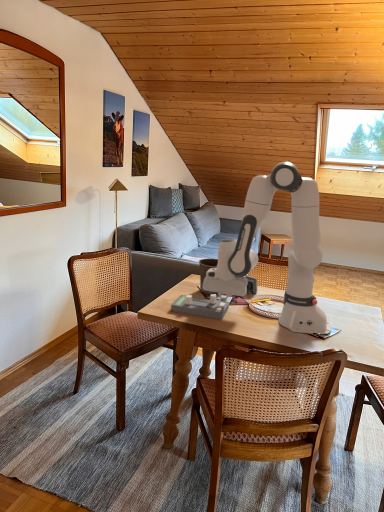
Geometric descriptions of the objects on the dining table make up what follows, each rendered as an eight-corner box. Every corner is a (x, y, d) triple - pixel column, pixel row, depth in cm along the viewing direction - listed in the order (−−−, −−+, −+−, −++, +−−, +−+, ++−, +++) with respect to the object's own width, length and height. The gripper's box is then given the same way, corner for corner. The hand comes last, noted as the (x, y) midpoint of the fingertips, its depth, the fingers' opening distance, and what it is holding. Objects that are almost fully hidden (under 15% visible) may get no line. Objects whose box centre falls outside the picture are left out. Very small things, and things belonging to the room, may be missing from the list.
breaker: (191, 302, 182) (192, 295, 181) (190, 304, 180) (190, 297, 179) (186, 302, 183) (187, 294, 182) (185, 303, 180) (185, 296, 179)
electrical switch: (257, 292, 212) (258, 276, 208) (253, 296, 207) (254, 279, 204) (241, 288, 216) (242, 273, 213) (237, 292, 212) (238, 276, 209)
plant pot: (224, 287, 217) (227, 258, 213) (229, 297, 202) (232, 267, 198) (195, 285, 216) (197, 257, 212) (197, 296, 201) (199, 266, 196)
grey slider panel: (228, 308, 187) (228, 302, 186) (221, 319, 174) (222, 313, 173) (180, 300, 193) (180, 294, 192) (170, 310, 180) (171, 304, 179)
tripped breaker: (215, 302, 185) (216, 294, 184) (214, 303, 183) (215, 296, 182) (210, 301, 186) (211, 294, 185) (209, 303, 183) (210, 295, 182)
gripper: (249, 274, 179) (246, 303, 183) (206, 268, 184) (204, 296, 188) (247, 278, 173) (244, 307, 177) (202, 272, 179) (200, 300, 182)
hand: (223, 301), depth 182 cm, fingers closed
